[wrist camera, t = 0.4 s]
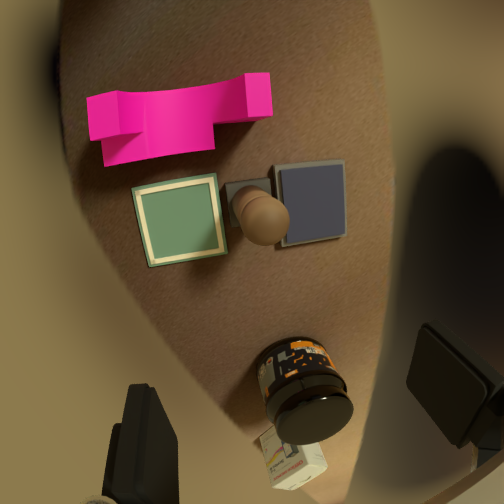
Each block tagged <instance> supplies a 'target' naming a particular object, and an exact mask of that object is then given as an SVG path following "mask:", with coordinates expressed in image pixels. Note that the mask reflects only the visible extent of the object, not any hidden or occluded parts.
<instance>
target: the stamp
mask: <svg viewBox="0 0 504 504" xmlns="http://www.w3.org/2000/svg"><path fill="white" fill-rule="evenodd" d="M225 189H226V197H227V204H228V211H229V218H230V224H231V227H232V228H233V227H239V226H241V229H242V232H243V233H244V235H245V236H246V237H247V239H248V240H250V241H251V242H253V243H255V244H257V245H262V246H269V245H273V244H275V243H277V242H279V241H280V240H281V239H283V237H284V236H285V235H286V233H287V231H288V229H289V224H290V218H289V213H288V211H287V209H286V207H285V206H284V205H283V204H282V203H281V202H280V201H279V200H277V199H275V198H273V197H272V195H271V186H270V179H269V178H267V177H264V178H257V179H249V180H242V181H235V182H228V183H225Z"/></svg>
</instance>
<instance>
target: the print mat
mask: <svg viewBox="0 0 504 504" xmlns="http://www.w3.org/2000/svg"><path fill="white" fill-rule="evenodd" d="M131 189H132V194H133V199H134V204H135V209H136V213H137V218H138V223H139V227H140V232H141V236H142V240H143V244H144V249H145V253H146V257H147V261H148V265H149V267H154V266H159V265H165V264H171V263H177V262H183V261H189V260H194V259H200V258H206V257H212V256H218V255H224V254H228V251H227V244H226V238H225V231H224V224H223V218H222V211H221V204H220V197H219V190H218V183H217V176H216V173H210V174H204V175H198V176H192V177H186V178H180V179H175V180H169V181H164V182H159V183H154V184H149V185H144V186H139V187H134V188H131Z"/></svg>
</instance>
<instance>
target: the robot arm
mask: <svg viewBox="0 0 504 504" xmlns="http://www.w3.org/2000/svg"><path fill="white" fill-rule="evenodd" d="M503 383H504V377H503V376H502V375H500V374H499V373H498V372H497V371H496V370H495V369H494V368H493V367H492V366H491V365H490V364H488V362H486V361H485V360H484V359H483V358H482V357H481V356H480V355H478V354H477V353H476V352H475V351H474V350H473V349H472V348H470V347H469V346H468V345H467V344H466V343H465V342H464V341H462V340H461V339H460V338H459V337H458V336H457V335H455V334H454V333H453V332H452V331H451V330H450V329H448V328H447V327H446V326H445V325H444V324H442V323H441V322H440V321H438V320H432V321H429V322H427V323H424V324H423V325H422V326H421V329H420V330H419V332H418V337H417V341H416V345H415V349H414V354H413V357H412V362H411V365H410V369H409V373H408V376H407V380H406V384H407V387H408V389H409V390H410V391H411V393H412V394H413V395H414V396H415V398H416V399H417V400H418V401H419V403H420V404H421V405H422V407H423V408H424V409H425V410H426V412H427V413H428V414H429V416H430V417H431V418H432V419H433V421H434V422H435V423H436V425H437V426H438V427H439V428H440V430H441V431H442V432H443V434H444V435H445V436H446V438H447V439H448V440H449V442H450V443H451V444H453V445H456V446H457V448H458V449H460V448H462V447H464V446H465V445H467V444H468V443H469V442H470V440H471V442H472V443H473V454H472V464H471V472H470V474H469V475H467V476H466V477H464V478H463V479H461V480H460V481H458V482H457V483H455V484H454V485H452V486H451V487H449V488H447V489H446V490H444V491H443V492H441V493H439V494H437V495H436V496H434V497H432V498H431V499H429V500H427V501H425V502H424V503H422V504H504V384H503ZM80 504H179V480H178V441H177V437H176V434H175V432H174V430H173V428H172V426H171V424H170V422H169V419H168V417H167V415H166V413H165V411H164V408H163V406H162V404H161V402H160V399H159V397H158V395H157V392H156V390H155V388H154V387H151V388H150V387H149V385H148V384H146V383H145V384H132V385H130V386H129V389H128V394H127V398H126V403H125V408H124V413H123V418H122V423H116V424H115V425H114V426H113V429H112V434H111V439H110V444H109V450H108V455H107V461H106V468H105V474H104V481H103V487H102V495H95V496H90V497H88V498H86V499H84V500H83V501H82V502H81V503H80Z"/></svg>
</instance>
